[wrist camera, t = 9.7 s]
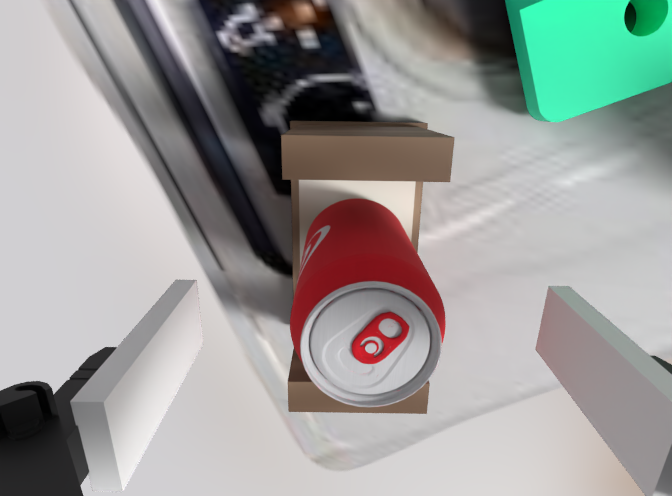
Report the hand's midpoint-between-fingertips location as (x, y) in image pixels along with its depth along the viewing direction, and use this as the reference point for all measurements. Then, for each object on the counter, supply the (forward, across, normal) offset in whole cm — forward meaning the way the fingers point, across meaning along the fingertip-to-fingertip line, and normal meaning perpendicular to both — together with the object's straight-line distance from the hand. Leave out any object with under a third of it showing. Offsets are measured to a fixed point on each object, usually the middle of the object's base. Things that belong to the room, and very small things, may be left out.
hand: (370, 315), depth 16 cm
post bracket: (+12, 0, -1) cm, 12 cm away
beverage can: (+11, 0, -1) cm, 11 cm away
